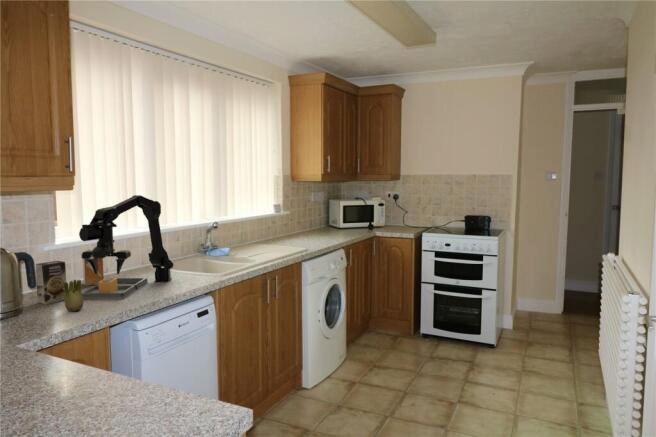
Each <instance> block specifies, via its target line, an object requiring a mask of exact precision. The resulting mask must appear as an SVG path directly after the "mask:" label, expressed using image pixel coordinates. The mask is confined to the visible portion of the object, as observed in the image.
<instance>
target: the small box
mask: <svg viewBox="0 0 656 437" xmlns="http://www.w3.org/2000/svg"><path fill="white" fill-rule="evenodd" d="M82 272H83V273H82V274H83V284H84V286H86V287H87V286H96V285H97V284H98V282H100V281H102V280H104V279H105V278H104V277H105V276H104V258H98V274H95V272H94V270H93V268H92V266H91V264H90V263H89V262H88V261H85V259H82Z"/></svg>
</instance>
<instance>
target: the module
mask: <svg viewBox="0 0 656 437" xmlns="http://www.w3.org/2000/svg"><path fill="white" fill-rule="evenodd" d="M117 278H118V277H107V278H104V280H102V281H100V282H98V284H99V293H115V292H116V291H118V285H117Z"/></svg>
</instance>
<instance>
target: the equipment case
mask: <svg viewBox="0 0 656 437" xmlns="http://www.w3.org/2000/svg"><path fill="white" fill-rule="evenodd" d="M116 278H117V285H136V291H138V290H140V289H141V288H142V287H143V286H145V285H147V284H148V283H149V282H148V277H116ZM97 285H99V284H97ZM97 285H95V286H97Z"/></svg>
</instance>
